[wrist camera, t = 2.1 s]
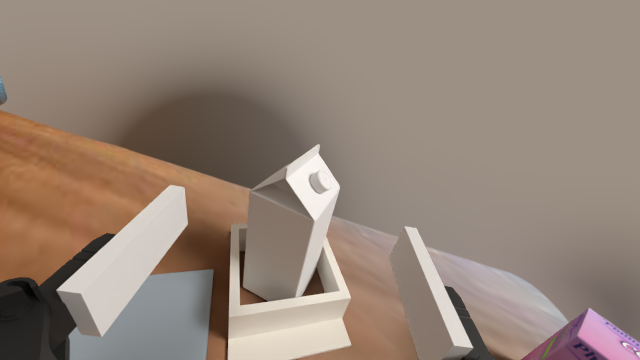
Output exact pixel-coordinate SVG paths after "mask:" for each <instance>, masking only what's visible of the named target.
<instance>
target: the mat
mask: <svg viewBox="0 0 640 360" xmlns="http://www.w3.org/2000/svg"><path fill="white" fill-rule="evenodd" d="M213 274H214V269H209V270H199V271H188V272H177V273H167V274H156V275H149V276H148V277H147V279H146V280H145V281H144V283H143V284H142V285H141V287H140V288H139V289H138V290H137V292H136V293H135V294H134V296H133V297H132V298H131V300H130V301H129V302H128V304H127V305H126V306H125V308H124V309H123V310H122V312H121V313H120V314H119V316H118V317H117V318H116V319H115V321H114V322H113V323H112V325H111V326H110V327H109V329H108V330H107V331H106V333H105V334H104V335H103V337H96V336H88V335H81V334H80V332H79V330H78V328H77V326H76V328H75V329H74V330H73V331H72V332H71V333H70V334H69V339H70V360H206V354H207V343H208V331H209V320H210V308H211V297H212V285H213Z"/></svg>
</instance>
